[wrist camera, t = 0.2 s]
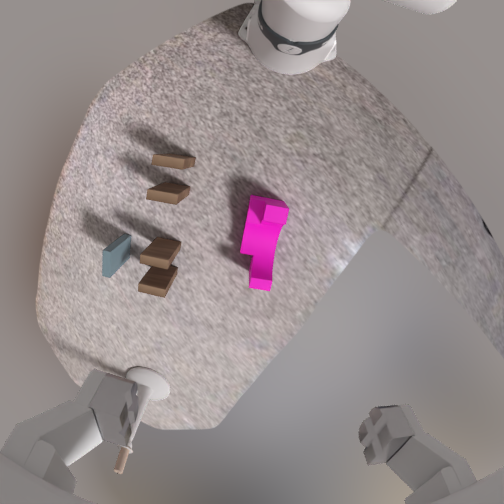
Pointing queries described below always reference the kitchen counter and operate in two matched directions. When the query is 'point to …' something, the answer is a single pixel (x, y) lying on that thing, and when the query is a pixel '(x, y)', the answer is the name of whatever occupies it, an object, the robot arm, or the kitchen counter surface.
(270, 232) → the toy block
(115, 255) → the domino
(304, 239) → the kitchen counter surface
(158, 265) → the domino
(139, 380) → the candlestick
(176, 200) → the domino
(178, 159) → the domino
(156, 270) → the domino
